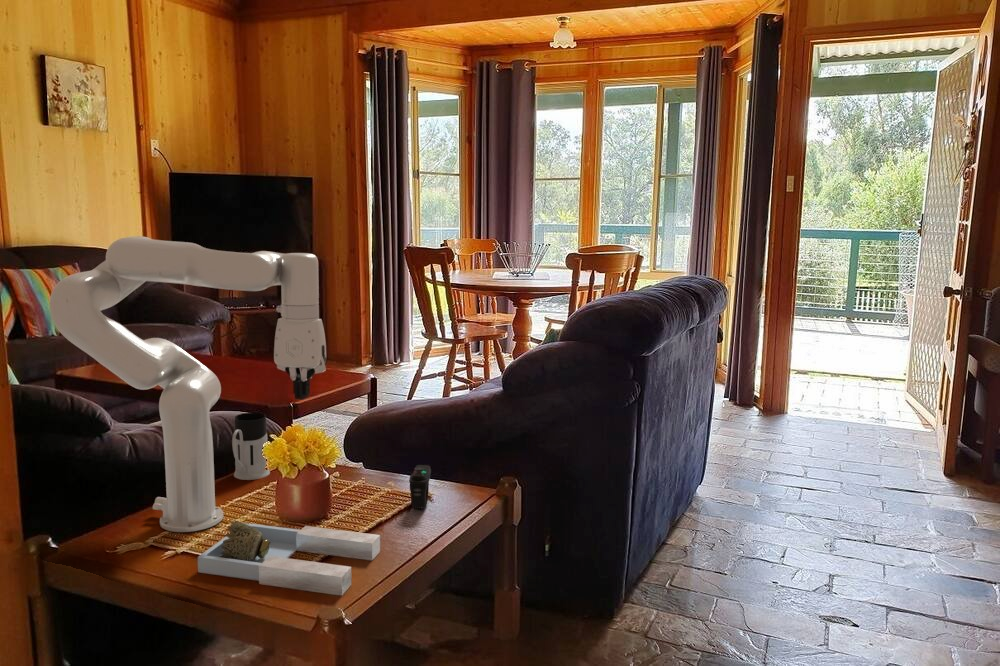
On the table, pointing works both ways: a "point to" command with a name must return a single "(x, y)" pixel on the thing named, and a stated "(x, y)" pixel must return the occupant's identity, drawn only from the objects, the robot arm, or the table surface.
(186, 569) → the table surface
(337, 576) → the groove rails
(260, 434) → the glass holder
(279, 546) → the tray
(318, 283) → the robot arm
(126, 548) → the table surface
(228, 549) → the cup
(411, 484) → the controller
